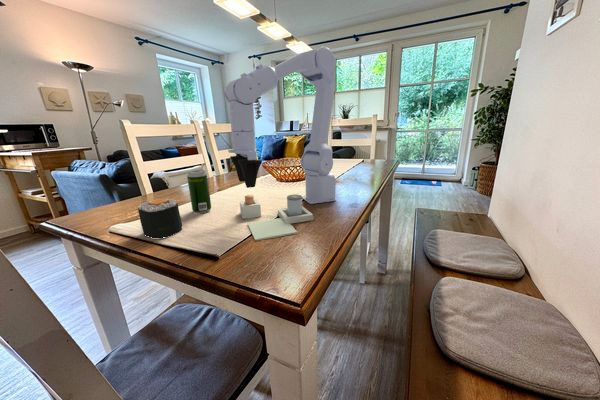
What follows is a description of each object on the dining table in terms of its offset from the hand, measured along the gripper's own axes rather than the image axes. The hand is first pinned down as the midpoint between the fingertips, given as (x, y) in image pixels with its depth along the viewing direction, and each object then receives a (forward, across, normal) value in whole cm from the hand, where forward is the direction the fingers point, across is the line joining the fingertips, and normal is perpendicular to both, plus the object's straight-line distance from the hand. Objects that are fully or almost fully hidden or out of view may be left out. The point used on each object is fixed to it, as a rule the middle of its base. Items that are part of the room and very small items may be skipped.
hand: (246, 184), depth 66 cm
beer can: (+10, -12, -11) cm, 19 cm away
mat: (+10, +10, +3) cm, 14 cm away
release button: (+7, -2, +1) cm, 7 cm away
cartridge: (+9, +6, +11) cm, 16 cm away
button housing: (+10, -2, +1) cm, 10 cm away
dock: (+9, +6, +11) cm, 16 cm away
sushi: (+10, -1, -21) cm, 24 cm away
